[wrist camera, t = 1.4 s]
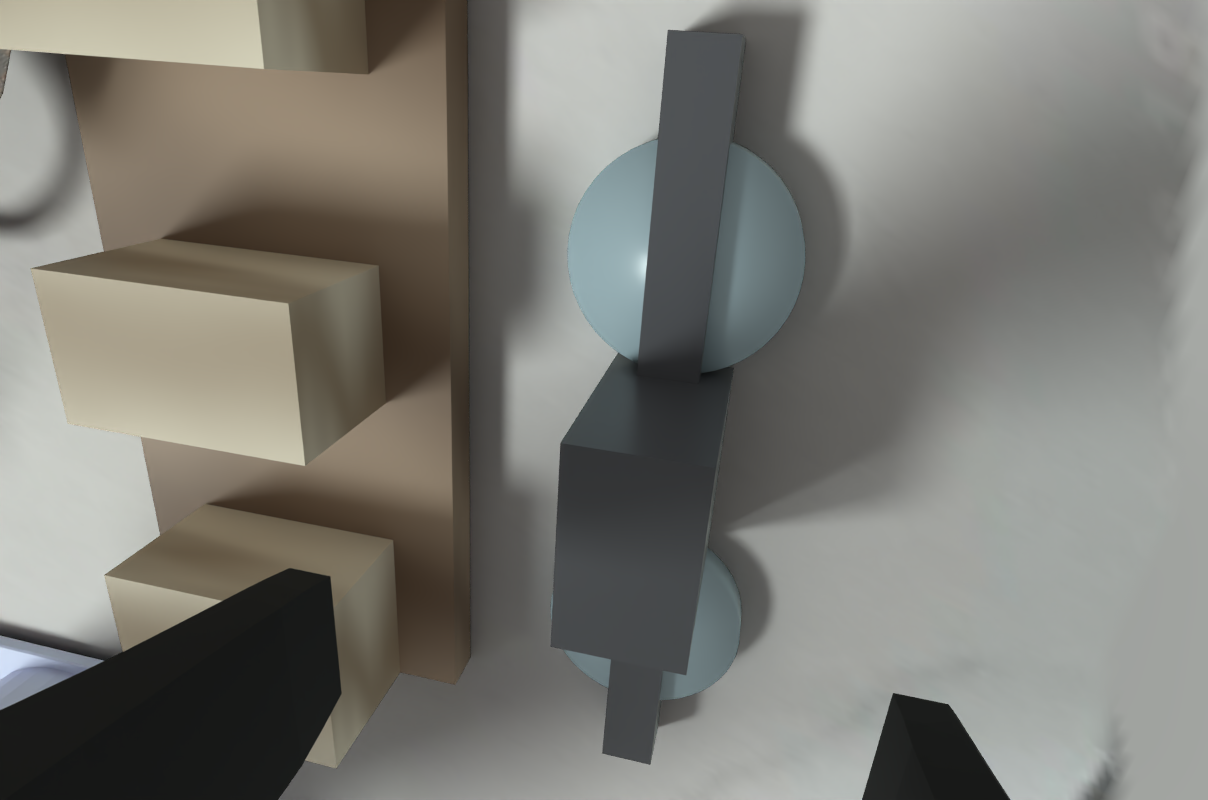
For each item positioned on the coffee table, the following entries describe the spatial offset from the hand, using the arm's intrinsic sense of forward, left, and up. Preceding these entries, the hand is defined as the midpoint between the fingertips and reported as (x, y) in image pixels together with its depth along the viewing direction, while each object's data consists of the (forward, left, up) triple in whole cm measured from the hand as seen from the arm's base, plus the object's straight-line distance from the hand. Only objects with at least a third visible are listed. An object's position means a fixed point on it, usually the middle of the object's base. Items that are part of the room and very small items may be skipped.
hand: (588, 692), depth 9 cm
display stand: (+2, +9, -7) cm, 11 cm away
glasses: (0, 0, -7) cm, 7 cm away
